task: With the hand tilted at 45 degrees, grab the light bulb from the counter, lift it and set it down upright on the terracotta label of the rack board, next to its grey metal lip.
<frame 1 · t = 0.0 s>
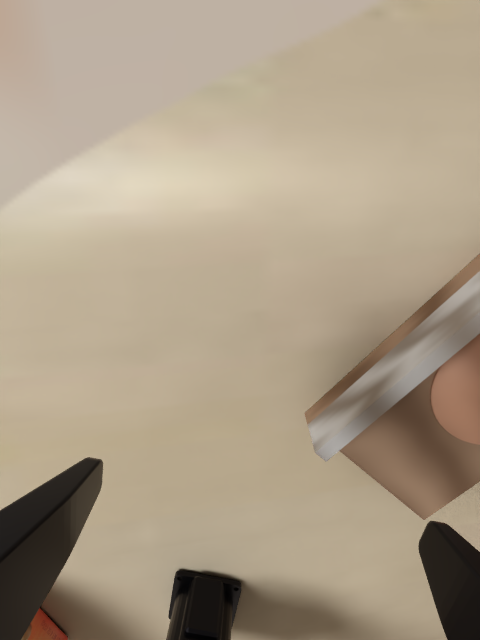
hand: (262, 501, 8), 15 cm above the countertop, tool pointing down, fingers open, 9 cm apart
cracker box: (13, 598, 32), on the countertop
rack board: (473, 370, 22), on the countertop
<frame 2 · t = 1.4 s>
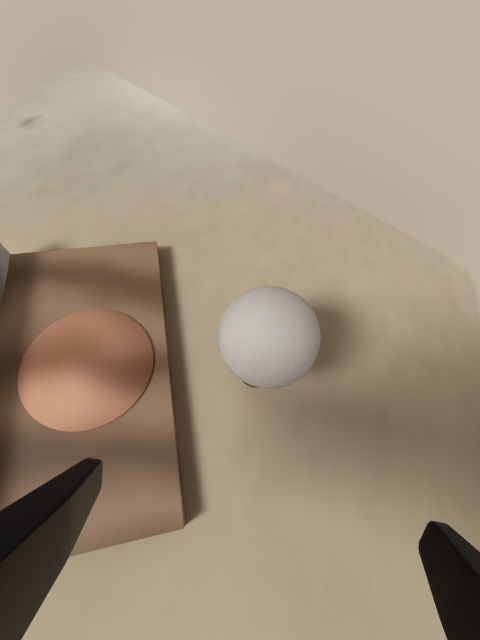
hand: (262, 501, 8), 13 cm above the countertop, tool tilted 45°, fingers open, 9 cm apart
rack board: (81, 374, 23), on the countertop
light bulb: (253, 374, 24), on the countertop
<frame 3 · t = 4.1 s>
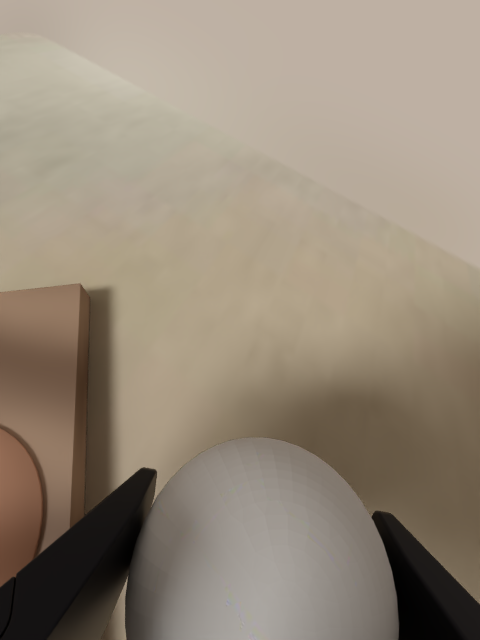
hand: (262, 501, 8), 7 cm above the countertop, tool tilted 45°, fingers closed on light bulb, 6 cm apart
light bulb: (236, 528, 13), on the countertop, touching gripper
when the fingers open (9 cm above the countertop, at t = 8.1 s): light bulb stays where it is, resting on rack board.
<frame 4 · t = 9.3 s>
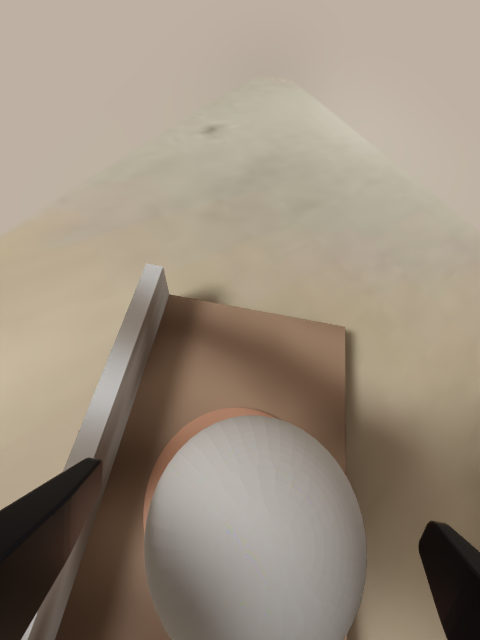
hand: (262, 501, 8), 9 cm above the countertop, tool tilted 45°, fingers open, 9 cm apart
rack board: (217, 495, 16), on the countertop
light bulb: (235, 505, 15), point 2 cm above the countertop, touching rack board
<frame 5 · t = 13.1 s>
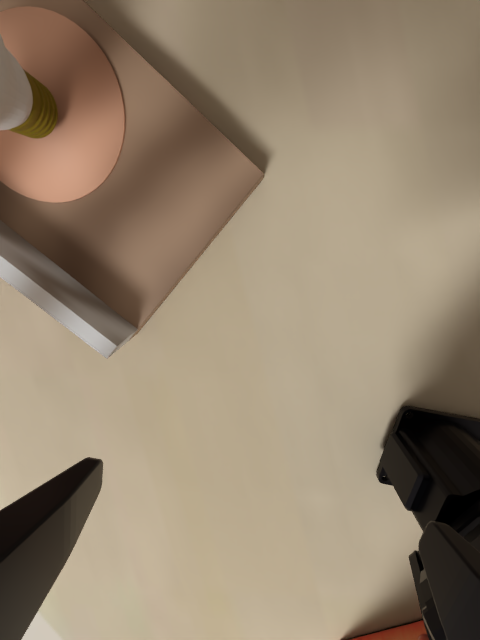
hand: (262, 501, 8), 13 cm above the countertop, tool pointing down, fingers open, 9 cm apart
cracker box: (416, 635, 28), on the countertop
rack board: (52, 138, 18), on the countertop
light bulb: (46, 116, 16), point 2 cm above the countertop, touching rack board
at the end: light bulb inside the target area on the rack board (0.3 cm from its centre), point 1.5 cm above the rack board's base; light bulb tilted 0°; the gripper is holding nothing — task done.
